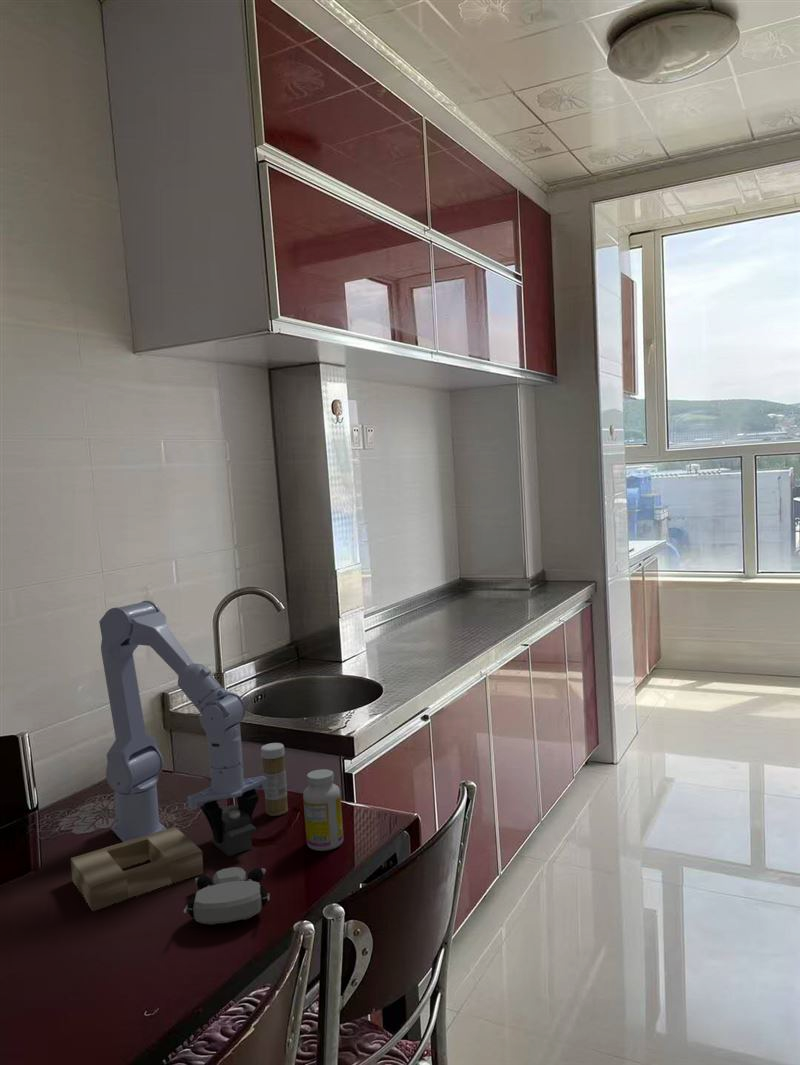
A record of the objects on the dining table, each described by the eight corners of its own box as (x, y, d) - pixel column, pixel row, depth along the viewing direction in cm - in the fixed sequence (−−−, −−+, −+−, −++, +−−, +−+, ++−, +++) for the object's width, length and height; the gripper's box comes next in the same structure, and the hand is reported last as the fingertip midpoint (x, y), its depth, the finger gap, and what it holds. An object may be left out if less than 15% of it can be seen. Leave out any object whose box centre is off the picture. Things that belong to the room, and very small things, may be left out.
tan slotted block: (72, 880, 133) (70, 858, 132) (176, 847, 143) (174, 826, 143) (92, 911, 122) (90, 887, 122) (203, 873, 133) (201, 850, 132)
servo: (207, 838, 146) (205, 803, 146) (230, 831, 149) (227, 796, 148) (234, 861, 136) (231, 823, 136) (258, 853, 139) (255, 815, 138)
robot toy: (193, 896, 127) (184, 940, 112) (191, 868, 127) (182, 908, 112) (269, 885, 129) (271, 926, 115) (268, 857, 129) (269, 895, 115)
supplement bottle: (332, 832, 146) (328, 764, 145) (350, 844, 140) (346, 773, 139) (300, 843, 142) (295, 773, 141) (317, 856, 136) (312, 783, 136)
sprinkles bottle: (281, 805, 160) (276, 740, 159) (292, 812, 156) (288, 745, 155) (261, 812, 157) (256, 746, 156) (272, 819, 153) (267, 751, 153)
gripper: (195, 779, 134) (201, 857, 135) (272, 758, 143) (277, 832, 143) (181, 769, 140) (186, 843, 141) (255, 749, 148) (260, 820, 149)
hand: (231, 837), depth 142 cm, fingers closed on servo, 4 cm apart
